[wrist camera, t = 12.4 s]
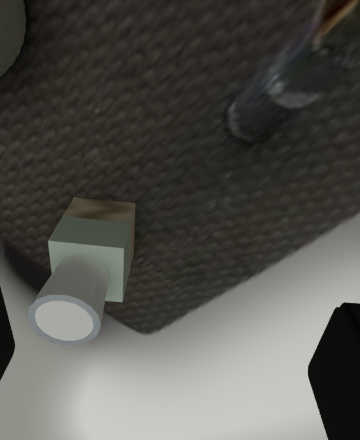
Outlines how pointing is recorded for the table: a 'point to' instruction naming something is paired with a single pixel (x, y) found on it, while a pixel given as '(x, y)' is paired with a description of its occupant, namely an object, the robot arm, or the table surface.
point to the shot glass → (71, 301)
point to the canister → (11, 31)
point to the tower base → (105, 214)
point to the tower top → (95, 248)
